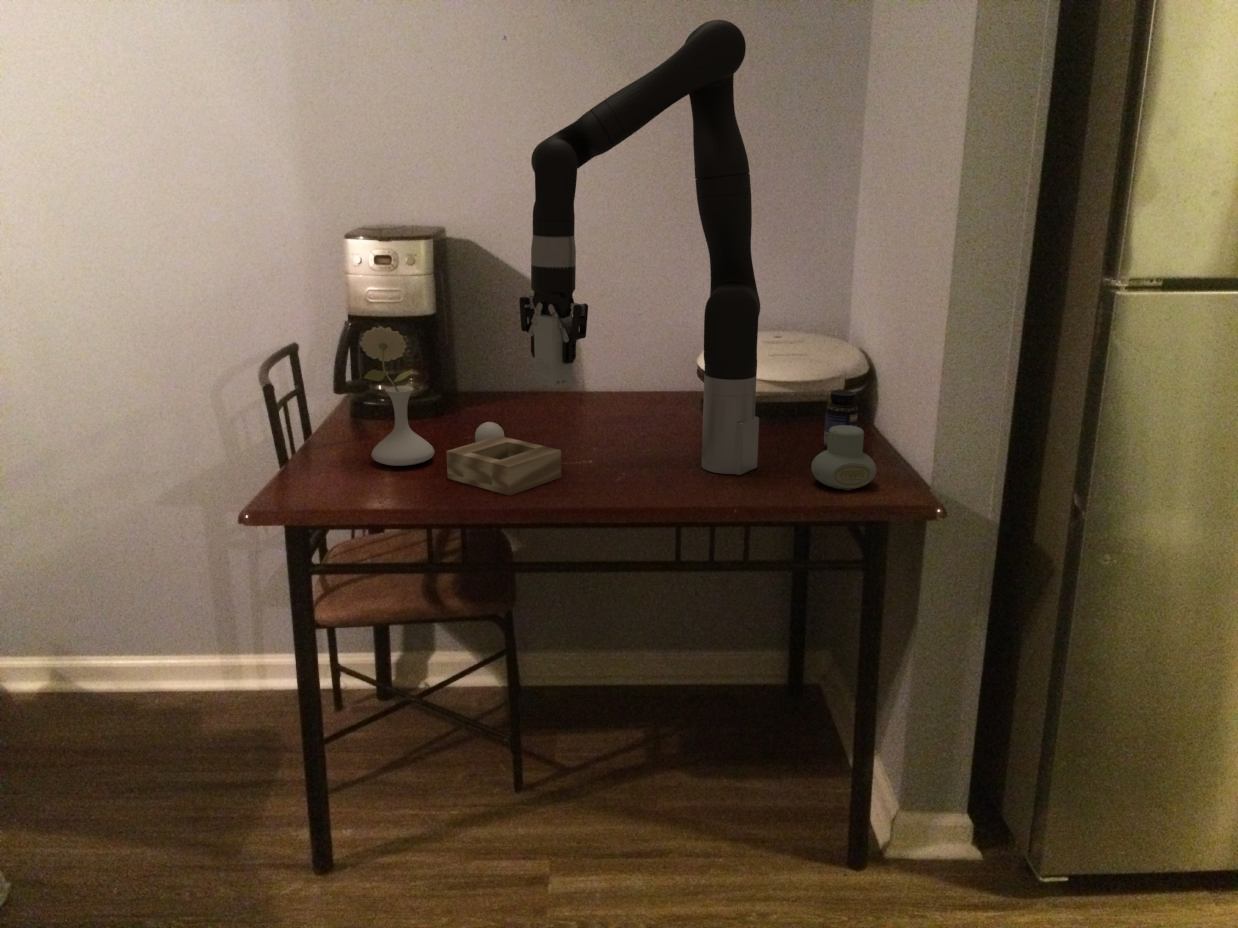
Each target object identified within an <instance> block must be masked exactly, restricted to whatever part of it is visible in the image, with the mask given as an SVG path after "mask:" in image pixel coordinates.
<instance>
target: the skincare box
mask: <svg viewBox="0 0 1238 928" xmlns="http://www.w3.org/2000/svg"><path fill="white" fill-rule="evenodd" d="M533 316H534V315H533ZM572 317H573V316H572ZM572 317H570V316H569V317H565V318H563V319H562V318H561V320H562V322H563V323H570V322H571V321H572ZM535 320H536V318H535ZM557 323H558V322H557V318H556V317H553V316H549V315H540V316H537V324H536V326H535V325H534V348H535V358H534V365H535V366H534V371H535V372H534V374H535V377H534V378H535V382H536V383H539V384H542V385H545V386H549V387H552V388H564V387H572V386H573V384H574V380H573V379H574V377H573V376H574V373H573V368H574V367H573V363H570V364H565V363H563V342H565V341H564V340H563V337H562V334H561V332H560V331H559V330H558V329H557ZM567 330H568V333H569V334H570V329H569V328H567Z"/></svg>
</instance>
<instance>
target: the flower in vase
mask: <svg viewBox="0 0 1238 928" xmlns="http://www.w3.org/2000/svg"><path fill="white" fill-rule="evenodd" d="M403 338H404V336H403V335H402V334H400V331H398V330H397V331H394V330H392V328H391V327H389V326H388V327H386V328H384V327H383V326H378V327H374V326H373V327H372V328H371V329H370V330H366V331H365V332H363V334H362V337H361V341H359V345H360V347H361V348H362V351H363V352H365V355H366V356H368V357H369V358H371V359H373V360H375V359H378V361H380V362H382V370H383V372H382V371H380V370H378V369H371V370H369V371H368V372H367V373H366V374H365V375H364V377H363V379H365V380H371V381H375V382H381V381H383V380H384V378H385V376H386V378H387V379H388V381H389V382H390V383H391V384H392V386H389V387H387V388H385V392H386V393H387V394H388V396H389V398H390V399H391V403H392V406H393V411H394V412H393V413H394V426H393V429H392V431H391V432H390V433H389V434H387V436H386V437H384V438H383V439H382V440H381V441H380V442H378V443H377V444H376V446H374V448H373V449H372V453H371V457H372V459H373V460H374V461H375V462H377V463H380V464H383V465H385V466H387V465H388V466H391V467H392V466H395V467H397V466H398V467H399V466H401V467H402V466H403V467H404V466H412V465H418V464H422V463H424V462H426V461H429V460H430V459H432V458H433V456H434V455H435V453H436V452H435V449H434V447H433V446H432V445H431V444H430V443H429V442H428V440H426V439H424V438H423V437H421V436H420V435H419V434H417V433H416V432H415V431H413V430H412V429H411V427H410V424H409V420H408V404H409V399H410V396H411V394H412V392H413V391H414V387H412V386H409V385H396V384H395V383H397V382H401V381H404V380H405V379H407V378H408V377H409V376H410V375H411V374H412V372H413V368H411V369H410V370H408V371H405V372H403V373H400V374H399V375H397V377H395V379H394V380H392V379H391V377H390V376H389V375H388V373H387V371H386V368H385V362H391V360H393V361H395V360H397V358H402V357H403V356H404V353H405V352H406V350H405V349H406V348H408V347H407V342H406V341H405V339H403Z"/></svg>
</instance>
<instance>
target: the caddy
mask: <svg viewBox="0 0 1238 928" xmlns="http://www.w3.org/2000/svg"><path fill="white" fill-rule="evenodd" d="M446 467H447V468H446V472H447V473H446V474H447V479H448V480H452V481H456V482H459V483H463V484H467V485H469V486H474V487H478V488H481V489H485V490H489V491H491V492H494V493H499V494H502V495H506V496H514V495H516V494H518V493H521V492H524V491H527V490H530V489H532V488H535V487H539V486H540V485H543V484H546V483H550V482H551V481H552V482H553V481H554V480H557V479H561V478H562V450H561V449H557V448H553V447H550V446H545V445H540V444H536V443H532V442H528V441H524V440H520V439H515V438H510V437H506V436H504V437H503V436H497V437H493V438H490V439H486V440H483V441H479V442H476V441H475V442H472V443H470V444H465V445H463V446H459V447H455V448H453V449H448V450H446Z"/></svg>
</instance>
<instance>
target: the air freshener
mask: <svg viewBox="0 0 1238 928" xmlns="http://www.w3.org/2000/svg"><path fill="white" fill-rule="evenodd" d="M864 437H865V431H864V430H863V429H862V428H861V427H859V426H857V427H855V426H849V425H838V426H833V427H831V428H830V429H829V435H828V448H826V450H823V451H821V452H820V453H819V454H817V455H816V456H815V457H814V458H813V460H812V462H811V465H810V466H811V473H812V475H813V476H814V478H815V479H816V480H817V481H818V482H820V483H821V484H823V485H825V486H826V487H828V488H829V487H830V488H832V489H836V490H839V489H844V490H843V491H852V490H851V489H854V490H857V489H859V488H862V487H864V486H867V485H868V484H870V482H872V481H873V479H875V476H876V474H877V465H876V463H875V462H874V460H873V459H872V457H870V456H869V455H868V454H866V453H864V452H863V451H864Z"/></svg>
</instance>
